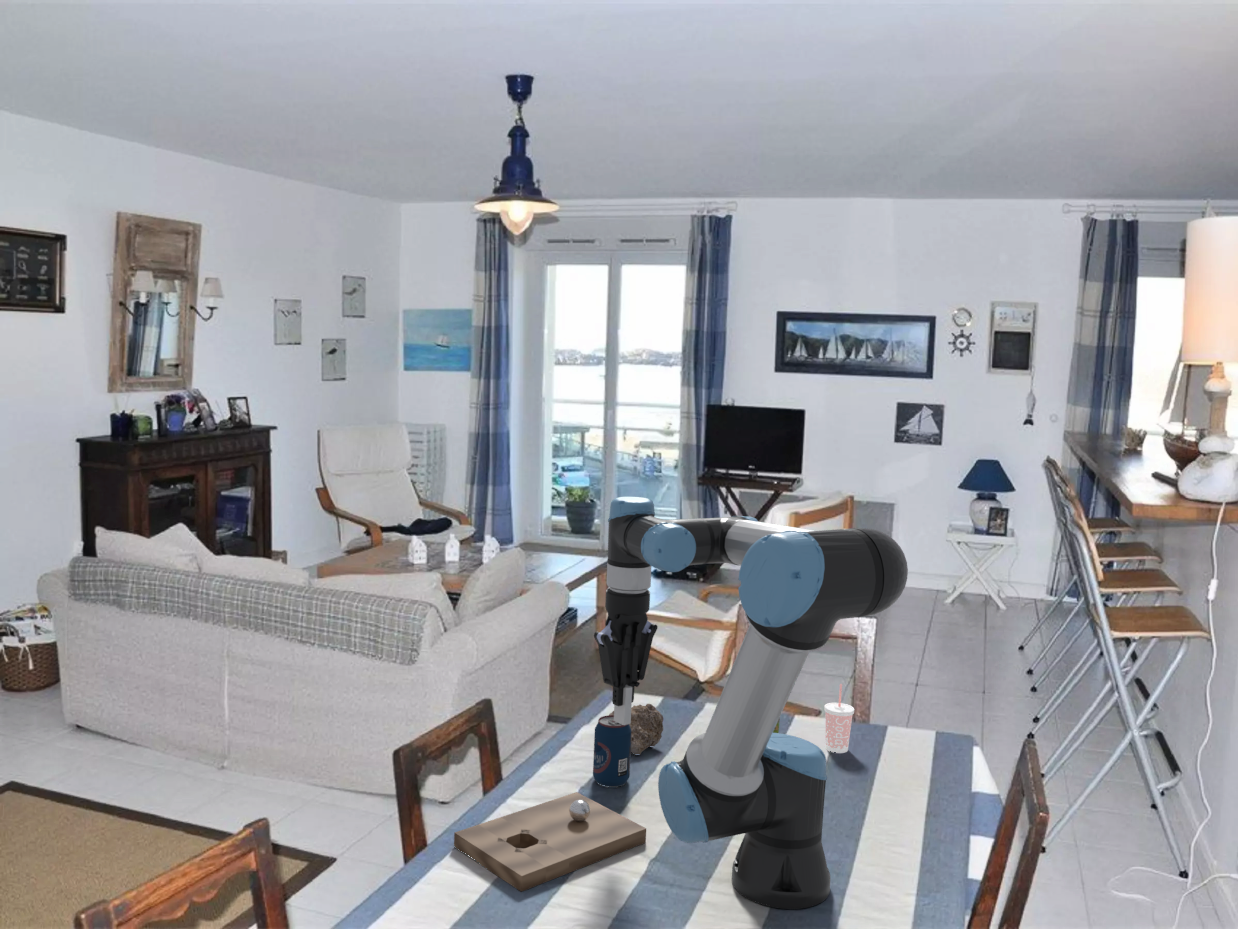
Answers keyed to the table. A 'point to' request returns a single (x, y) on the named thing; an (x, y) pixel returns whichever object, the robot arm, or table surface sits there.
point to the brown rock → (645, 727)
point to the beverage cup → (838, 725)
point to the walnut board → (548, 841)
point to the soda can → (611, 752)
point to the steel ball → (579, 810)
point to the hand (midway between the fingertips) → (622, 722)
